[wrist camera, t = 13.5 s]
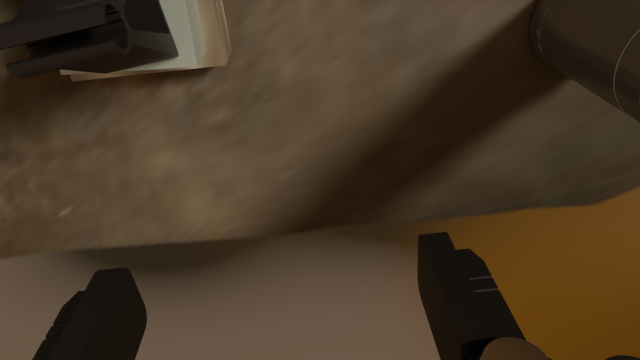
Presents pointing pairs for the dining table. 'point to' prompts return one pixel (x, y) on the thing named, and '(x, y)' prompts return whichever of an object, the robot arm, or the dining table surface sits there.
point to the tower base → (212, 37)
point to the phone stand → (87, 35)
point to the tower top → (176, 37)
